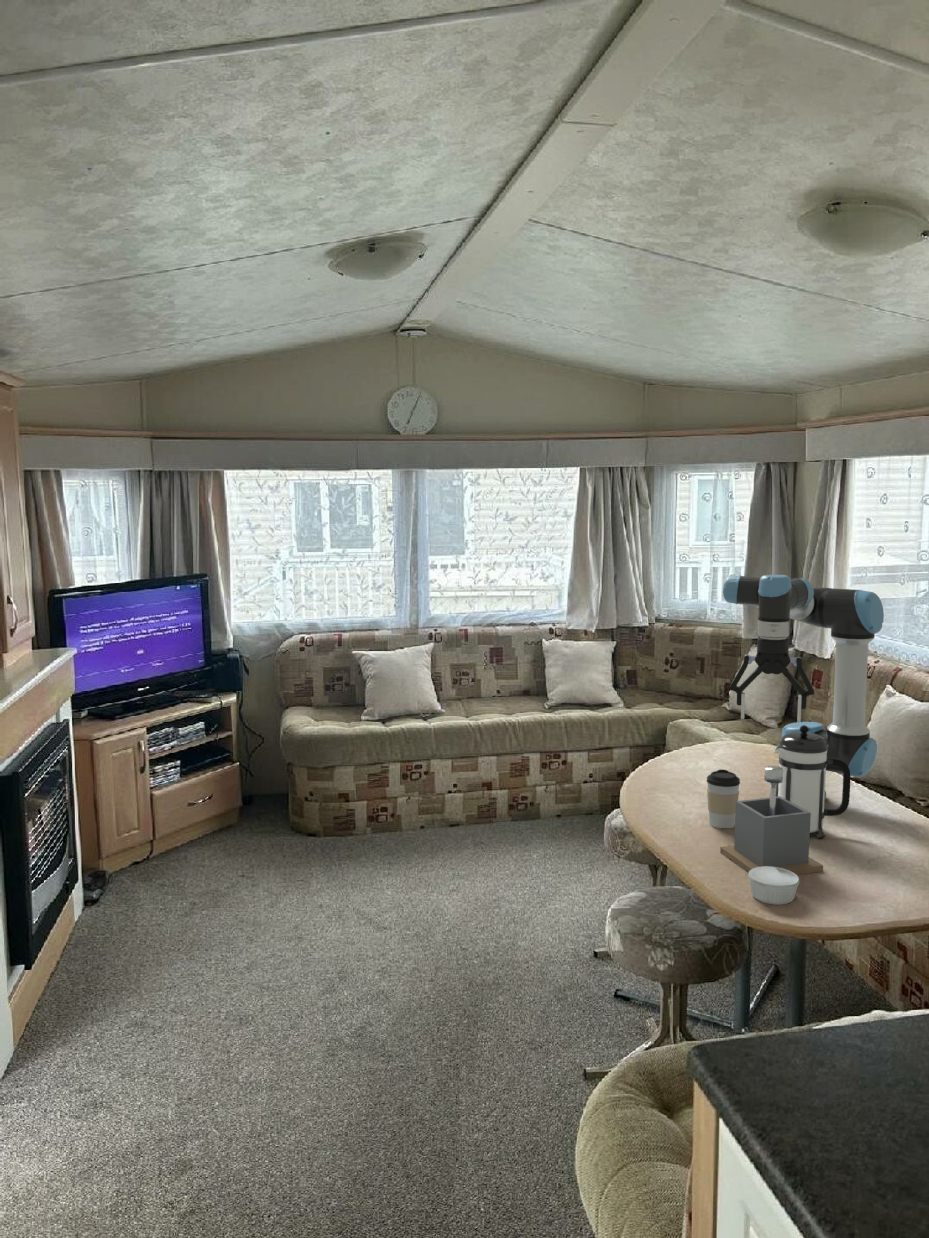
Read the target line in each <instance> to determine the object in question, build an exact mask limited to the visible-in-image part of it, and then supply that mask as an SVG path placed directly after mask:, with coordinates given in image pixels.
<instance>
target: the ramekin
mask: <svg viewBox="0 0 929 1238" xmlns="http://www.w3.org/2000/svg"><path fill="white" fill-rule="evenodd" d="M747 873H748V872H747ZM747 875H748V880H749V886H750V892H751V894H752V896H753V898H755V899H756V900H758V901H759V902H761V903H764V904H767V905H776V906H777V905H787V904H789V903H791V902H792V901H794V900H795V897H796V893H797V890H798V886H799V884H800V878H799V875H796V874H794V873H793V872H791V871H789V870H786V869H783V868H778V867H770V866H763V867H756V868H753V869H751V870H750V871H749V873H748V874H747Z"/></svg>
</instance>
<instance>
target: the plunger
mask: <svg viewBox="0 0 929 1238" xmlns="http://www.w3.org/2000/svg"><path fill="white" fill-rule="evenodd" d="M763 780H764V781H765V782H766V783H769V784H770V789H769V797H770V810H769V816H774V815H775V806H776V783H782V782H783V768H782V767H779V766H777V765H766V766H764V779H763Z"/></svg>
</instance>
